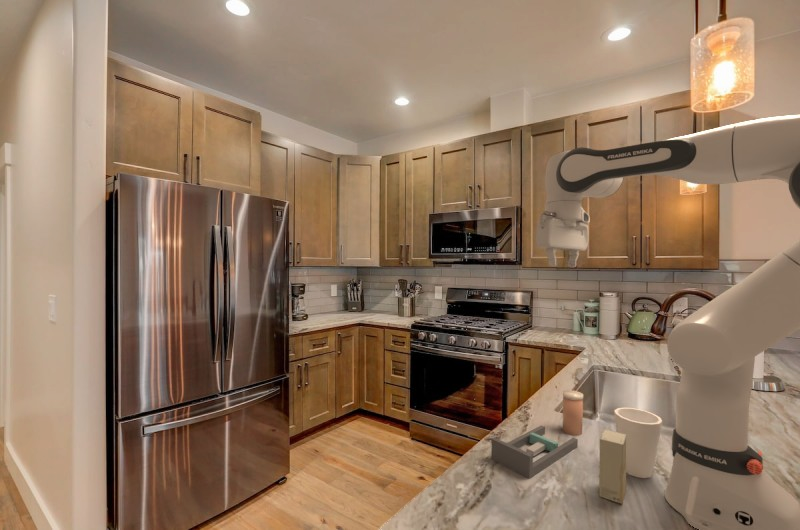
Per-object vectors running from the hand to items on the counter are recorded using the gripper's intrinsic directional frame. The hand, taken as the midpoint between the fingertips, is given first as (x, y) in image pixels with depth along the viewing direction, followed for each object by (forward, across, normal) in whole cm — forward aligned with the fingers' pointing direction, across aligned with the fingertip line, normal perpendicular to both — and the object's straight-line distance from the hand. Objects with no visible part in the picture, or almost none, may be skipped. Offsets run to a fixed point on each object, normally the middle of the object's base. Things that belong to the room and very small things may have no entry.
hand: (562, 266), depth 97 cm
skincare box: (+49, -9, -16) cm, 52 cm away
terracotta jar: (+47, +13, +4) cm, 49 cm away
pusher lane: (+48, -6, +3) cm, 48 cm away
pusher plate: (+48, -6, +3) cm, 48 cm away
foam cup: (+48, +5, -15) cm, 51 cm away
